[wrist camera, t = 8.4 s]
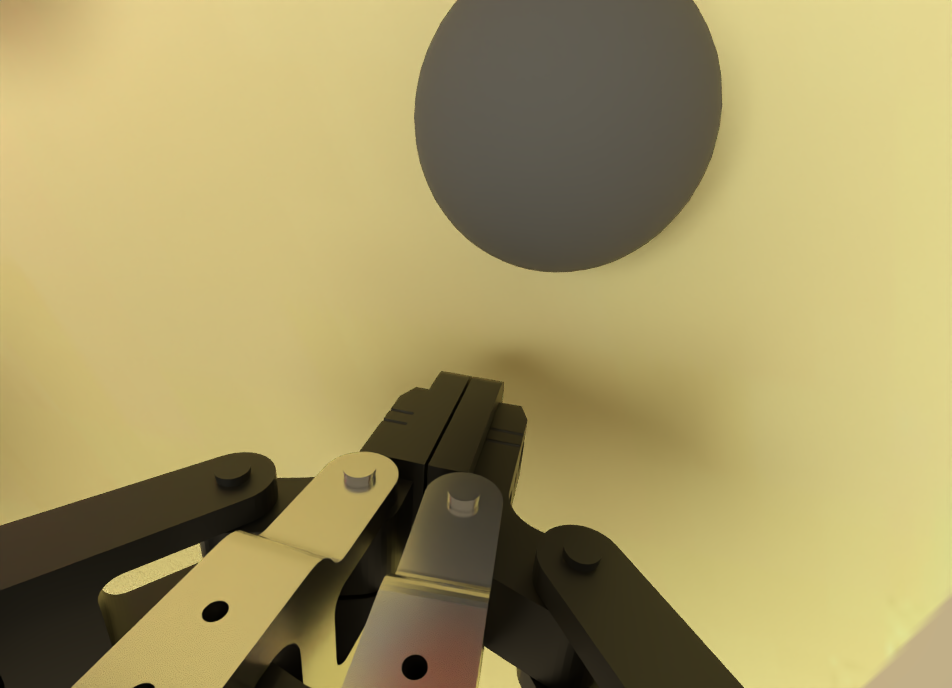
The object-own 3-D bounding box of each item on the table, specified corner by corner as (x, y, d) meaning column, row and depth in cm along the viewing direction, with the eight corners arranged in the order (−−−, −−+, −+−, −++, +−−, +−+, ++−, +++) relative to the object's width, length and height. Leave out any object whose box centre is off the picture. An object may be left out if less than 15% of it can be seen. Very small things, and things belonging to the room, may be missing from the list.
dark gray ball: (719, -77, 5) (688, -165, 9) (301, 105, 8) (408, -21, 11) (752, 307, 9) (721, 137, 12) (463, 346, 11) (505, 195, 15)
